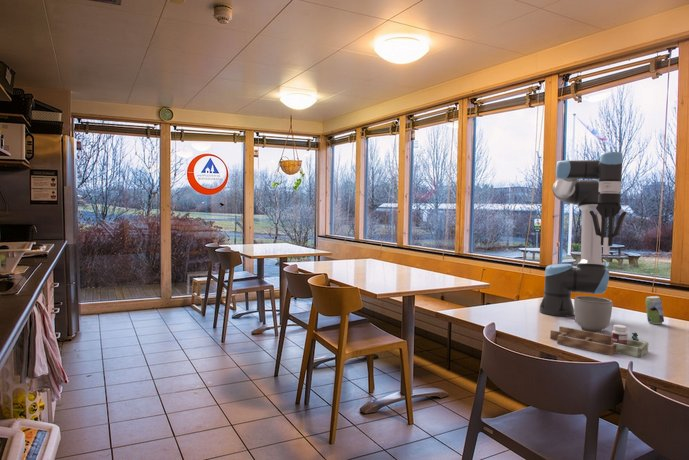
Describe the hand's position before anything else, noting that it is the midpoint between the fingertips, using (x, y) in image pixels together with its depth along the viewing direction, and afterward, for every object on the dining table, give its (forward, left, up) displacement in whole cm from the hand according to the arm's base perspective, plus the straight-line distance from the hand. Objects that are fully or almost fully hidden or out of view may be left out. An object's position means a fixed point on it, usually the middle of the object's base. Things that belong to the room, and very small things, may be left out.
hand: (606, 254), depth 182 cm
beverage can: (+9, +43, -33) cm, 55 cm away
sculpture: (+11, +2, -33) cm, 35 cm away
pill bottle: (+9, -13, -33) cm, 36 cm away
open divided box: (+2, -15, -32) cm, 36 cm away
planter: (-6, +8, -33) cm, 34 cm away
